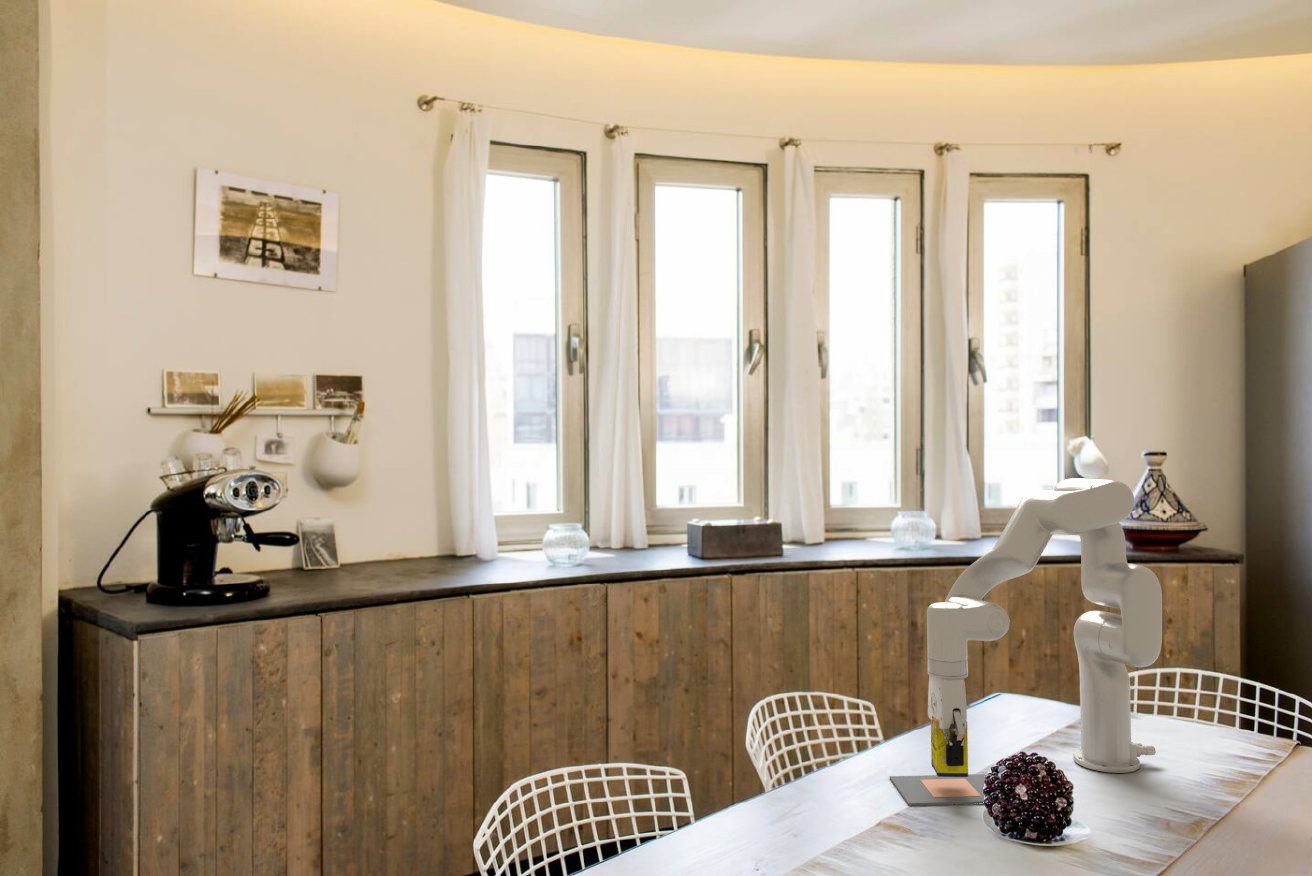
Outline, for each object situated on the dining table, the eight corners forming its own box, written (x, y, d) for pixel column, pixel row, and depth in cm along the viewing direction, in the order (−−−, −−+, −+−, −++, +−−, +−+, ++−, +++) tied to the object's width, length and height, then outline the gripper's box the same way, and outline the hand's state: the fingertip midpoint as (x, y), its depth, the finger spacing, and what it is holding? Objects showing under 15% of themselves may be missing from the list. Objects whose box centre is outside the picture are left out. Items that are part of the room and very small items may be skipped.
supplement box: (930, 766, 186) (929, 711, 186) (961, 766, 185) (960, 711, 185) (936, 777, 180) (935, 720, 180) (968, 777, 180) (967, 720, 180)
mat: (988, 776, 190) (987, 773, 190) (1015, 803, 176) (1014, 800, 176) (889, 778, 190) (889, 775, 190) (908, 805, 176) (908, 802, 176)
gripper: (915, 657, 191) (917, 745, 191) (942, 678, 174) (943, 775, 174) (952, 656, 192) (953, 744, 191) (982, 678, 174) (984, 774, 174)
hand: (949, 758), depth 183 cm, fingers closed on supplement box, 6 cm apart
